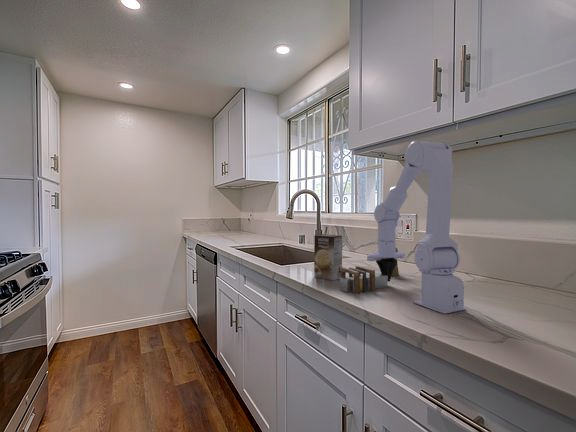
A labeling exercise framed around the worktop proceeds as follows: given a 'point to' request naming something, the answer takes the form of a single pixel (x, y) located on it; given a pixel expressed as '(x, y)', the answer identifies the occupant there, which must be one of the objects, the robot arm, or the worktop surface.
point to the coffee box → (327, 256)
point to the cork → (395, 271)
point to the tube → (348, 282)
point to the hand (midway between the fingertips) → (386, 280)
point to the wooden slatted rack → (356, 273)
